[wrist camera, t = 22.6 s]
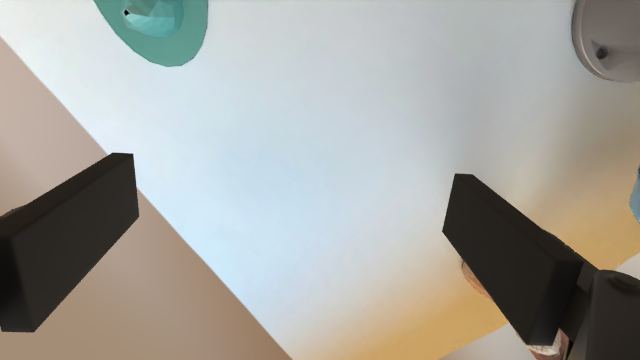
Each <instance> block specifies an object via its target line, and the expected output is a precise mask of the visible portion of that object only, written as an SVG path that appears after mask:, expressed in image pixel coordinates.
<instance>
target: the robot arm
mask: <svg viewBox="0 0 640 360" xmlns="http://www.w3.org/2000/svg"><path fill="white" fill-rule="evenodd" d="M572 37H573V43H574V47H575V50H576V53H577V55H578V57H579V59H580V61H581V62H582V64H583V65H584V66H585V67H586V68H587V69H588V70H589V71H590V72H592V73H593V74H595V75H596V76H598V77H601V78H603V79H607V80H611V81H619V82H640V0H577V3H576V6H575V10H574V15H573V22H572ZM637 177H638V178H637V180H636V183H635V186H634V188H633V191H632V194H631V196H630V208H631V210H632V212H633V215H634V217H635V218H636V220H637V221H638V222H639V223H640V166H639V168H638V170H637ZM138 217H139V209H138V199H137V189H136V178H135V168H134V158H133V154H128V153H111V154H110V155H108V156H106V157H105V158H103V159H102V160H100V161H98V162H97V163H95V164H93V165H91V166H90V167H88V168H87V169H85V170H83V171H82V172H80V173H78V174H77V175H75V176H73V177H72V178H70V179H68V180H67V181H65V182H63V183H62V184H60V185H58V186H57V187H55V188H53V189H52V190H50V191H49V192H47V193H45V194H43V195H42V196H40V197H38V198H37V199H35V200H33V201H32V202H30V203H28V204H27V205H24V206H21V207H18V208H15V209H12V210H11V211H9V212H7V213H6V214H4V215H3V216H0V327H1V330H2V332H35V330H36V329H37V328H38V327H39V326H40V325H41V324H42V323H43V322H44V321H45V320H46V318H47V317H48V316H49V315H50V314H51V313H52V312H53V311H54V309H56V307H57V306H58V305H59V304H60V303H61V302H62V301H63V300H64V299H65V298H66V296H67V295H68V294H69V293H70V292H71V291H72V290H73V289H74V288H75V287H76V285H77V284H78V283H79V282H80V281H81V280H82V279H83V278H84V277H85V276H86V275H87V273H88V272H89V271H90V270H91V269H92V268H93V267H94V266H95V265H96V264H97V262H98V261H99V260H100V259H101V258H102V257H103V256H104V255H105V253H107V251H108V250H109V249H110V248H111V247H112V246H113V245H114V243H116V242H117V240H118V239H119V238H120V237H121V236H122V235H123V234H124V233H125V232H126V231H127V230H128V228H129V227H130V226H131V225H132V224H133V223H134V222H135V221H136V220H137V219H138ZM442 232H443V233H444V235H445V236H446V237H447V239H448V240H449V241H450V243H451V244H452V245H453V247H454V248H455V249H456V251H457V252H458V253H459V255H460V256H461V258H462V259H463V260H464V262H465V263H466V264H467V266H468V267H469V268H470V270H471V271H472V272H473V274H474V275H475V276H476V278H477V279H478V280H479V282H480V283H481V285H482V286H483V287H484V289H485V290H486V291H487V293H488V294H489V295H490V297H491V298H492V299H493V301H494V302H495V303H496V305H497V306H498V308H499V309H500V310H501V312H502V313H503V314H504V316H505V317H506V318H507V320H508V321H509V322H510V324H511V325H512V326H513V328H514V329H515V330H516V332H517V333H518V335H519V336H520V337H521V339H522V340H523V341H524V343H525V344H526V345H531V346H553V343H554V341H555V338H556V335H557V333H558V330H559V328H560V329H561V330H562V331H563V332H564V334H565V335H566V336H567V337H568V338H569V340H568V342H567V345H566V347H565V350H564V352H563V355H562V357H561V360H640V280H638V279H637V278H634V277H632V276H630V275H627V274H624V273H620V272H617V271H612V270H599V269H597V268H596V267H595V266H593V265H592V264H591V263H590V262H588V261H587V260H586V259H584V258H583V257H582V256H580V255H579V254H578V253H577V252H574V250H573V249H571V248H570V247H569V246H567V245H565V243H564V242H562V241H561V240H560V239H558V238H557V237H556V236H554V235H553V234H551V233H549V232H547V231H545V230H543V229H541V228H540V227H539V226H538V225H536V224H535V223H534V222H532V221H531V220H530V219H529V218H527V217H526V216H525V215H524V214H522V213H521V212H520V211H518V210H517V209H516V208H515V207H513V206H512V205H511V204H509V203H508V202H507V201H506V200H504V199H503V198H502V197H501V196H499V195H498V194H497V193H495V192H494V191H493V190H492V189H490V188H489V187H488V186H487V185H485V184H484V183H483V182H481V181H480V180H479V179H478V178H476V177H475V176H474V175H472V174H455V176H454V180H453V185H452V189H451V194H450V198H449V203H448V208H447V212H446V217H445V221H444V226H443V230H442Z"/></svg>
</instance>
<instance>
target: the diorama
mask: <svg viewBox="0 0 640 360" xmlns="http://www.w3.org/2000/svg"><path fill="white" fill-rule="evenodd" d="M94 1H95V3H96V5H97V7H98V8H99V10H100V12H101V14H102V15H103V16H104V18H105V19H106V21H107V22H108V23H109V25H110V26H111V27H112V29H113V30H114V32H115V33H116V34H117V35H118V36H119V37H120V38H121V39H122V40H123V41H124V42H125V43H126V44H127V45H128V46H129V47H130V48H131V49H132V50H133V51H134V52H136V53H137V54H139V55H140V56H142V57H144V58H145V59H147V60H148V61H150V62H152V63H156V64H159V65H162V66H166V67H171V66H182V65H183V64H185V63H186V62H188V61H190V60H191V59H193V58H194V56H195V55H196V53H197V52H198V50H199V49H200V47H201V46H202V43H203V39H204V35H205V32H206V28H207V5H208V4H207V0H94Z"/></svg>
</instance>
